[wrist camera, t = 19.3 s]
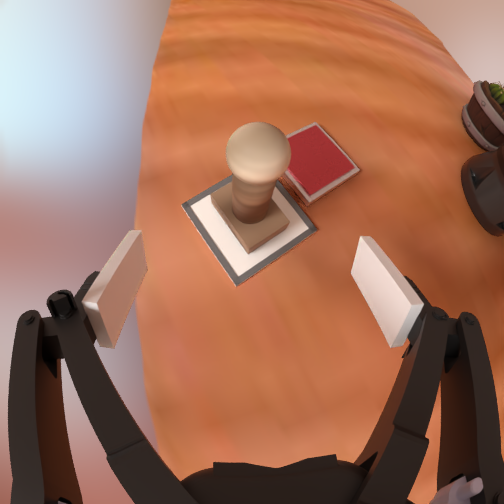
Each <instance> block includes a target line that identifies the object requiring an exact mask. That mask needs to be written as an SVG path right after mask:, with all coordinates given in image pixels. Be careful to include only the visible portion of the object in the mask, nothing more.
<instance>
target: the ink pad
mask: <svg viewBox="0 0 504 504" xmlns="http://www.w3.org/2000/svg"><path fill="white" fill-rule="evenodd" d="M286 138H287V139H288V141H289V144H290V148H291V159H290V163H289V166H288V168H287V170H286V171H285V173H284V174H283V175H282V177H283V178H284V179H285V180H286V182H287V183H288V184H289V185H290V187H291V188H292V189H293V190H294V191H295V193H296V194H297V195H298V196H299V198H300V199H301V200H302V201H303V203H304V204H305V205H306V206H309V205H310V204H312V203H313V202H315V201H316V200H318V199H320V198H321V197H323V196H324V195H326V194H327V193H329V192H330V191H332V190H333V189H335V188H337V187H338V186H340V185H341V184H343V183H344V182H346V181H347V180H349V179H350V178H352V177H354V176H355V175H357V173H358V172H359V171H360V169H359V168H358V167H357V166H356V165H355V164H354V162H353V161H352V160H351V159H350V158H349V157H348V156H347V154H346V153H345V152H344V151H343V150H342V149H341V148H340V147H339V146H338V145H337V144H336V142H335V141H334V140H333V139H332V138H331V137H330V136H329V135H328V134H327V133H326V132H325V131H324V130H323V129H322V128H321V127H320V126H319V125H318V124H317V123H316V122H314V123H312V124H310V125H308V126H305V127H303V128H301V129H299V130H297V131H295V132H292V133H290V134H288V135H286Z"/></svg>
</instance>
